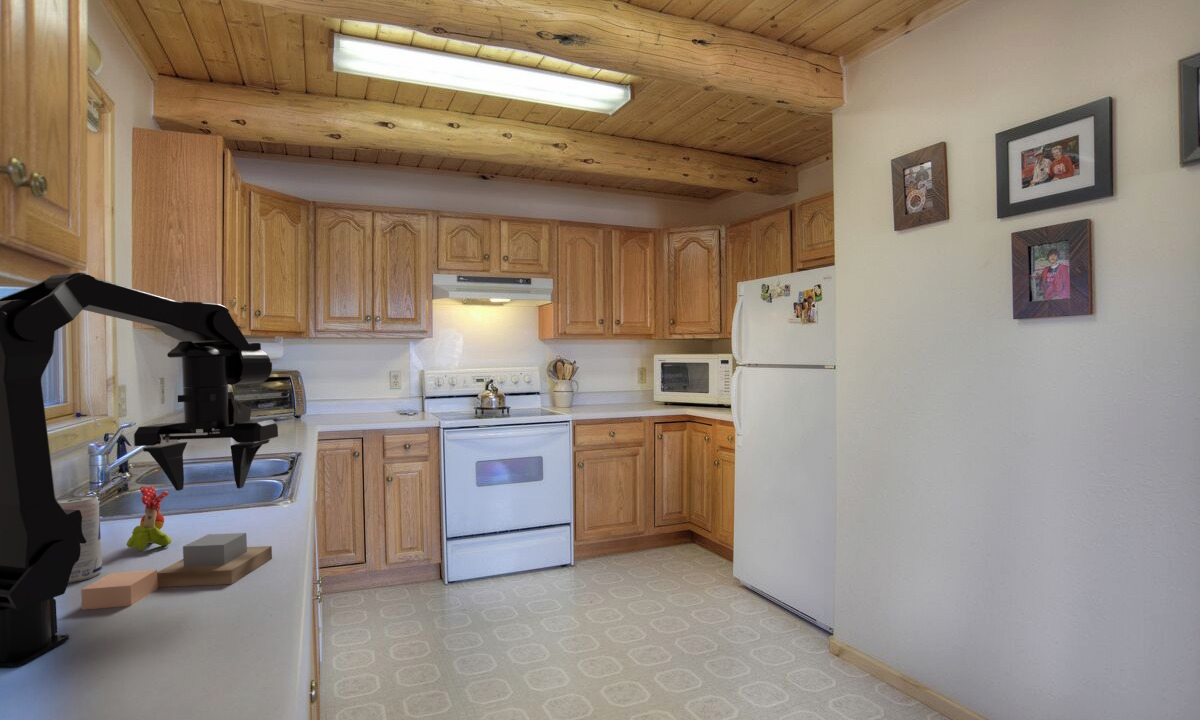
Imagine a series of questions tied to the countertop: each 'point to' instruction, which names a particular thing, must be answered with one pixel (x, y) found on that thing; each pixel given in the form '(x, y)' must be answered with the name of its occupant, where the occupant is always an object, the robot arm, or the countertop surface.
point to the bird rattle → (150, 522)
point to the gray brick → (214, 549)
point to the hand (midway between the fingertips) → (210, 489)
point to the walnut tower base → (214, 570)
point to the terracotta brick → (119, 589)
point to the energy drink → (86, 537)
